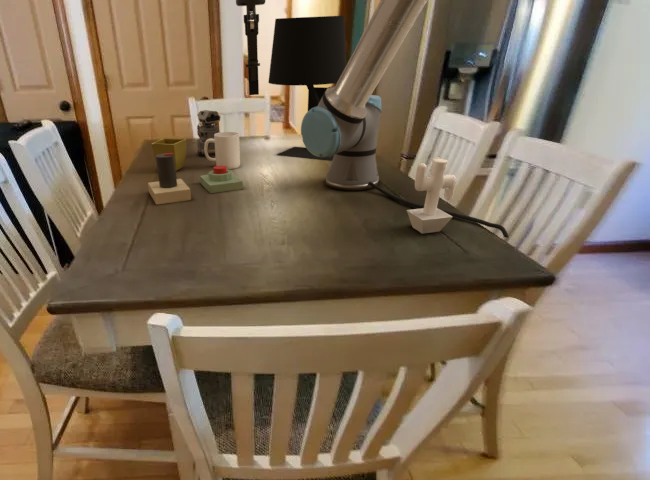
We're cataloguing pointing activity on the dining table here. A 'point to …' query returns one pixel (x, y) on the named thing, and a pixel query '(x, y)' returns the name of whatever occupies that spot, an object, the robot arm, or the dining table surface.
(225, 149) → the cup
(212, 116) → the figurine
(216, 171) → the button
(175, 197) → the dimmer panel
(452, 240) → the dining table surface
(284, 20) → the table lamp
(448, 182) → the figurine
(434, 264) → the dining table surface
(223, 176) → the switch box
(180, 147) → the flower pot
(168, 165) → the dimmer knob
